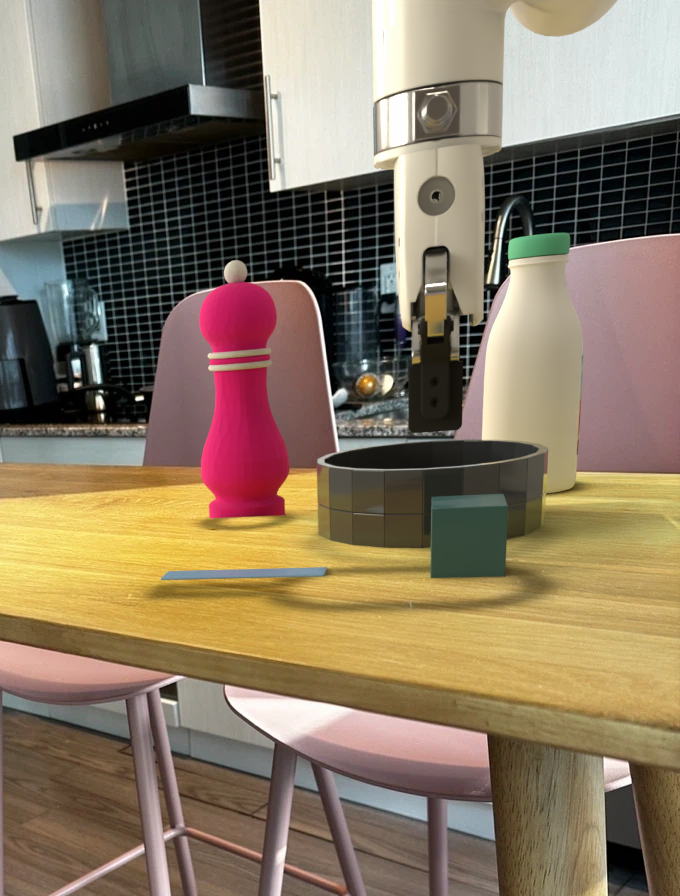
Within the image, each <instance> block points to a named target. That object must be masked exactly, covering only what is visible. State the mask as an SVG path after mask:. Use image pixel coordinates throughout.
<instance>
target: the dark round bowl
mask: <svg viewBox="0 0 680 896" xmlns="http://www.w3.org/2000/svg"><path fill="white" fill-rule="evenodd" d="M548 450H549V449H548V448H547V447H545V446H543V445H541V444H538V443H531V442H525V441H512V440H482V439H473V438H472V439H468V438H467V439H465V438H464V439H439V440H424V441H423V440H422V441H407V442H396V443H388V444H377V445H369V446H363V447H356V448H350V449H344V450H341V451H336V452H332V453H328V454H325V455H323V456H321V457H318V458H317V459H316V460H315V462H316V463H315V465H316V467H315V468H316V505H317V506H316V507H317V532H318V533H317V534H318V536H320V537H322V538H324V539H327V540H329V541H331V542H335V543H341V544H346V545H350V546H359V547H371V548H386V549H431V504H432V497H438V496H461V495H485V494H504V497H505V499H506V502H507V505H508V520H507V540H511V539H515V538H520V537H524V536H528V535H529V534H532V533H534V532H536V531H539V530H541V529H542V528H543V526H544V524H545V523H546V503H547V493H546V487H547V469H548Z"/></svg>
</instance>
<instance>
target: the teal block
mask: <svg viewBox="0 0 680 896" xmlns="http://www.w3.org/2000/svg"><path fill="white" fill-rule="evenodd" d="M507 520H508V505H507V502H506V499H505V497H504V494H485V495H461V496H438V497H432V504H431V548H430V574H429V576H430V577H429V578H430V579H444V578H445V579H447V578H448V579H452V578H453V579H455V578H456V579H457V578H493V577H494V578H497V577H498V578H499V577H503V578H504V577H506V568H507V567H506V566H507V545H508V544H507V541H508V539H507Z"/></svg>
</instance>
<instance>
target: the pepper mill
mask: <svg viewBox="0 0 680 896" xmlns="http://www.w3.org/2000/svg"><path fill="white" fill-rule="evenodd" d="M224 267H225V268H224V271H223V276H224V279H225V281H226V282H227V283H225V284H222V285H220V286H218V287H216V288H214V289H213V290H212V291H210V292H209V293H208V295H207V296H206V297H205V298H204V300H203V302H202V303H201V306H200V310H199V317H198V321H199V322H198V324H199V330H200V333H201V335H202V337H203V338H204V340H205V341H206V342H207V343H208V344H209V345H210V348H211V350H212V351H211V352H209V353H208V354H207V358H208V359H209V362H208V364H209V365H208V371H210V372H213V378H214V387H215V388H214V389H215V401H214V403H215V405H214V411H213V418H212V421H211V425H210V428H209V431H208V434H207V436H206V439H205V443H204V446H203V450H202V455H201V460H200V477H201V480H202V482H203V484H204V485H205V487H206V488H207V489H208V490H209V491H210V492H211V494H213V496H214V498H215V499H213V500H212V501H210V503H209V504H208V515H209V517H208V518H209V519H223V518H224V519H226V518H228V519H229V518H251V517H253V518H255V517H278V516H286V503H285V501H286V500H285V498H284V497H283V496H281V495H278V492H279V490H280V489H281V486H283V485H284V483H285V482H286V480H287V478H288V476H289V474H290V469H291V468H290V466H291V465H290V459H289V457H290V456H289V453H288V449H287V446H286V443H285V441H284V438H283V436H282V434H281V431H280V429H279V427H278V424H277V423H276V420H275V417H274V415H273V413H272V409H271V406H270V402H269V396H268V387H267V386H268V385H267V382H268V381H267V379H268V367H270V366H272V365H273V361H272V360H271V355H270V354H271V353H272V351H273V350H272V349H271V348H270V347H267V343H268V341H269V339H270V338H271V336H272V334H273V333H274V332H275V330H276V327H277V322H278V321H277V320H278V319H277V318H278V315H277V308H276V304H275V301H274V299H273V296H272V295H271V294H270V293H269V291H268V290H266V288H264V287H263V286H260V285H258V284H257V283H253V282H247V281H246V280H247V277H248V269H247V266H246V264H245V263H244V262H243V261H241V260H238V259H235V260H231V261H230V262H228V263H227V264H226V265H225V266H224Z"/></svg>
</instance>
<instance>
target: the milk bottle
mask: <svg viewBox="0 0 680 896" xmlns="http://www.w3.org/2000/svg"><path fill="white" fill-rule="evenodd" d="M570 249H571V236H570V233H568V232H553V233H552V232H551V233H541V234H540V233H539V234H531V235H526V236H524V235H523V236H519V237H514V238H512V239H510V240H509V242H508V249H507V258H508V260H509V261H508V266H507V268H508V269H509V270H510V278H509V283H508V286H507V290H506V293H505V297H504V299H503V302H502V304H501V306H500V309H499V310H498V314H497V316H496V318H495V319H494V322H493V325H492V327H491V329H490V332H489V336H488V340H487V344H486V351H485V352H486V353H485V362H484V377H483V400H482V401H483V402H482V425H481V427H482V429H481V440H512V441H525V442H531V443H538V444H541V445H543V446H545V447H547V448H548V449H549V450H548V469H547V487H546V494H552V493H559V492H564V491H567V490H570V489H572V488H573V487H575V486H574V485H575V484H576V481H577V471H578V458H579V444H580V443H579V442H580V427H581V413H582V396H583V395H582V394H583V393H582V392H583V378H584V377H583V376H584V375H583V374H584V335H583V330H582V325H581V322H580V318H579V316H578V312H577V310H576V308H575V305H574V302H573V299H572V298H571V295H570V290H569V287H568V284H567V277H566V266H567V263H569V261H570V259H569V254H570Z"/></svg>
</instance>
